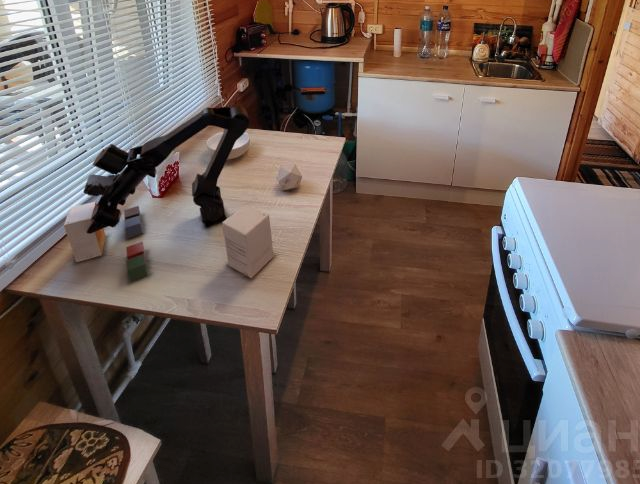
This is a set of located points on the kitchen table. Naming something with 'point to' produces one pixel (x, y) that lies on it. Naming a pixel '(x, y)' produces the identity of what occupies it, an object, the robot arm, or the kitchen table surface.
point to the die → (289, 177)
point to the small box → (83, 232)
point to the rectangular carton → (248, 240)
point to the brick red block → (135, 250)
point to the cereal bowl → (238, 148)
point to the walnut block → (132, 213)
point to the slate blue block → (133, 226)
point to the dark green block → (137, 267)
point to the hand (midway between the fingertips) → (91, 221)
